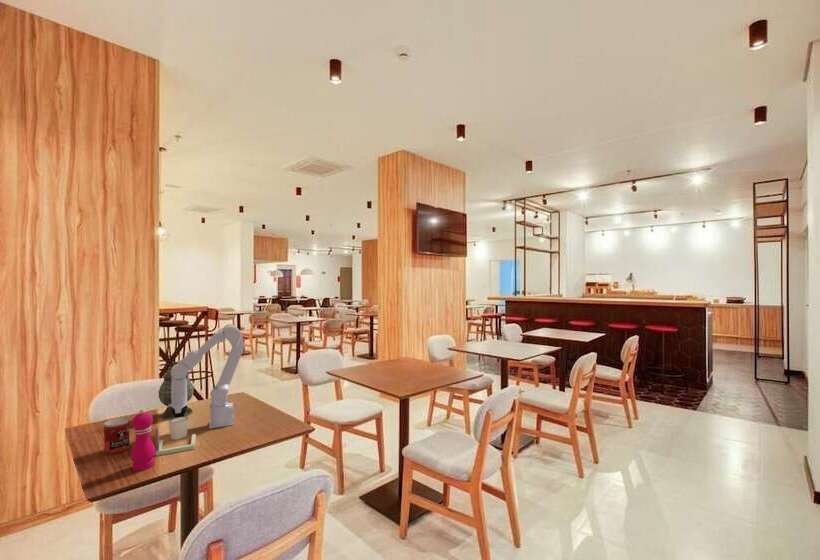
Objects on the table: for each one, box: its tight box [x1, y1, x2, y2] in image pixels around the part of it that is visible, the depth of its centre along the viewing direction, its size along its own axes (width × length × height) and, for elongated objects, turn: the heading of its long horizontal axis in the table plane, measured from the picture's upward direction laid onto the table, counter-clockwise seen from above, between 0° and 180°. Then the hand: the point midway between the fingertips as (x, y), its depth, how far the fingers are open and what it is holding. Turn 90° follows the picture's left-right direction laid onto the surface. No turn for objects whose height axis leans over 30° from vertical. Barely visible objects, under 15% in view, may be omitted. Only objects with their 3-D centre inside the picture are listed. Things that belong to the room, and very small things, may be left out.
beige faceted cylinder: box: [168, 416, 189, 440], centre depth 161 cm, size 7×7×7 cm
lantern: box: [158, 361, 195, 421], centre depth 187 cm, size 14×14×25 cm
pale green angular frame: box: [150, 427, 197, 457], centre depth 151 cm, size 15×12×10 cm
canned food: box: [103, 417, 130, 455], centre depth 149 cm, size 8×8×11 cm
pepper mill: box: [129, 408, 157, 472], centre depth 136 cm, size 7×7×20 cm
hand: (179, 424), depth 166 cm, fingers closed
